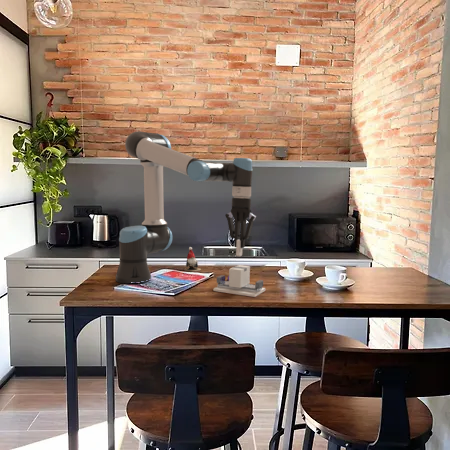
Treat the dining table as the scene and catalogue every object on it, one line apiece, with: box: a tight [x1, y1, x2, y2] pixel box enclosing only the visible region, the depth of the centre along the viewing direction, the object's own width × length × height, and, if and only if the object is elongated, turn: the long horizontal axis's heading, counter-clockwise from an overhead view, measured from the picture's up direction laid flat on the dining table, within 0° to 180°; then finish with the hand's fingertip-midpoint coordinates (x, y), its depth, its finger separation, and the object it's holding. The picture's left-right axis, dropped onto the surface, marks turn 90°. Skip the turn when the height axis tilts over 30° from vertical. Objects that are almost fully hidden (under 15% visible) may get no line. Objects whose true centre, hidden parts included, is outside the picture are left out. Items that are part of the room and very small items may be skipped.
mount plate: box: [213, 286, 266, 298], centre depth 172 cm, size 18×11×1 cm, turn 63°
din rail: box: [216, 274, 264, 293], centre depth 172 cm, size 19×6×4 cm, turn 63°
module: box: [228, 264, 251, 288], centre depth 172 cm, size 5×9×7 cm, turn 154°
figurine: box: [185, 246, 202, 272], centre depth 211 cm, size 8×10×12 cm
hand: (239, 255), depth 172 cm, fingers closed
